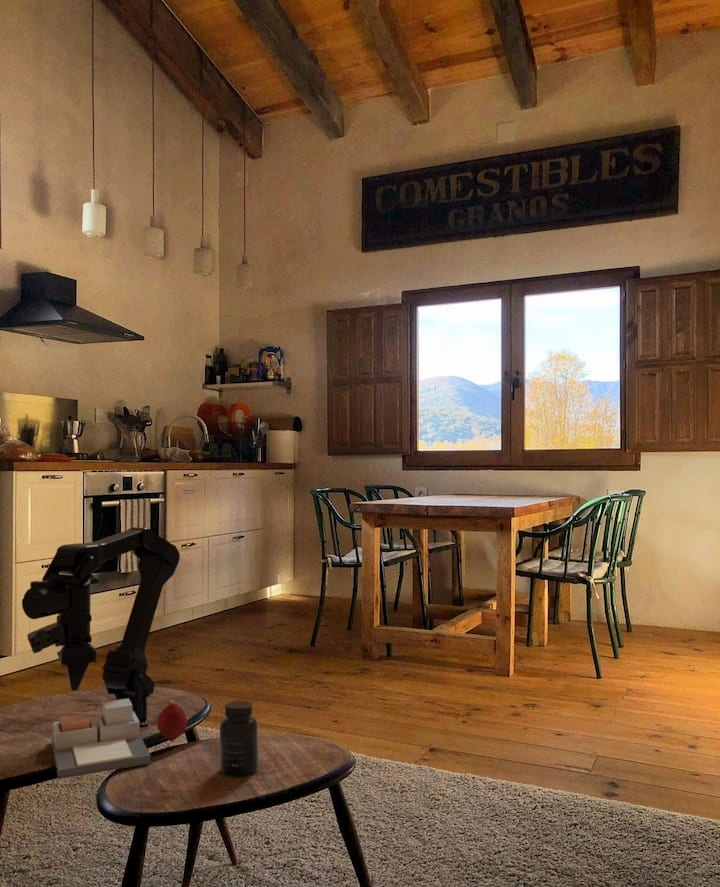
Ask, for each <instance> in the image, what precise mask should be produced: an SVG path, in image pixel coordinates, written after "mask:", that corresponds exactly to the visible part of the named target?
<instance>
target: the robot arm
mask: <svg viewBox="0 0 720 887" xmlns="http://www.w3.org/2000/svg"><path fill="white" fill-rule="evenodd" d="M129 552H132V554H133V555H134V556H135V557H136V558H137V559H138V563H137V570H138V574H139V578H140V581H139V585H138V588H137V591H136V594H135V597H134V601H133V605H132V607H131V611H130V615H129V618H128V620H127V623H126V628H125V630H124V633H123V636H122V637H123V638H122V641H121V643H120V645H119V646H118V647H117V648H116V649H115V650H111V649H110V650H109V651H108V652H107V654H106V659H105V662H104V665H103V666H102V668H101V670H102V680H103V682H104V685H105V689H106V691H107V694H108V695H113V696H114V699H113V700H119V699H126V698H129V700H130V702H131V704H132V711H134V712H135V714H136V716H137V718H138V720H139V722H140V723H141V724H142V722H144V723H145V721H146V720H147V721H148V722H149V720H148V718H147V717H148V716H147V713H148V712H147V710H148V705H147V703H148V702H147V701H148V700H147V698H149V697H150V696H151V695H153V693H154V691H155V690H154V689H155V686H156V683H155V681H154V680H153V679H151V677H150V676H149V675H148V674H147V670H148V668H147V667H148V661H147V660H148V659H147V655H146V652H145V649H146V645H147V641H148V638H149V636H150V635H149V634H150V632H151V628H152V624H153V622H154V618H155V615H156V612H157V611H156V610H157V607H158V603H159V601H160V598H161V594H162V592H163V587H164V585H165V584H166V583H167V582H168V581H169V580H170V579H171V578H172V577H173V576H174V575H175V571H176V569H177V567H178V564H179V562H180V558H181V557H180V556H181V555H180V552H179V550H178V548H177V546H176V545H175V544H173V543H171V542H170V541H168V540H167V539H165V538H163V537H161V536H159V535H158V534H156V533H155V532H154V531H153V530H152V529H149V527H139V526H138V527H136V526H135V527H134V526H133V527H131V528H128V529H127V530H125V531H121V532H119V533H118V532H117V533H116V534H113V535H109V536H107V537H104V538H101V539H99V540H95V541H92V542H84V543H83V542H81V543H70V544H69V543H68V544H62V545H61V546H59V547H57V549H56V553H55V555H54V557H53V558H52V560H51V562H50V564H49V566H48V568H47V569H46V570H45V572H44V575H43V577H42V579H41V581H40V580H34V581H31V582H30V588H29V589H27V590H26V592H25V593H24V595H23V598H22V600H21V606H22V610H23V613H24V614H25V615H26V617H28V618H29V619H30V620H37V619H43V618H46V617H50V616H55V615H57V616H56V621H55V622H53V623H50V624H48V625H46V626H43V627H40V628H38V629H36V630H33V631H32V632H29V633H28V634H26V637H27V640H28V643H29V646H30V647H31V651H32V653H33V654H37V653H40V652H42V651H43V650H44V649H47V648H48V647H51V646H53V645H54V646H55V648H57V647H58V648H59V647H61V649H60V650H59V651H57V657H58V660H59V663H60V665H61V666H66V670H67V676H68V679H69V684H70V689H71V691H72V692H73V691H78V690H79V688H80V686H81V683H82V681H83V678H84V675H85V674H86V671H87V669H88V667H89V665H90V663H95V662H97V650H96V647H95V646H94V645H92V635H91V622H92V614H91V585H96V584H99V583H100V581H99V578H97V577H95V575H93V573H94V572H96V571H97V570H99V569H100V568H101V567H102V564H104V563H105V562H106V561H109V560H111V559H114V558H116V557H119V556H122V555H124V554H126V553H129Z"/></svg>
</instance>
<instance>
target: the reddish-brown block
mask: <svg viewBox="0 0 720 887" xmlns="http://www.w3.org/2000/svg"><path fill="white" fill-rule="evenodd" d="M89 717H90V716H89V714H88V713H80V714H74V715H68V716H67V715H66V716H61V717H60V718H59V721H60V732H65V731H72V730H79V729H86V728H90V720H89Z"/></svg>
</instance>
